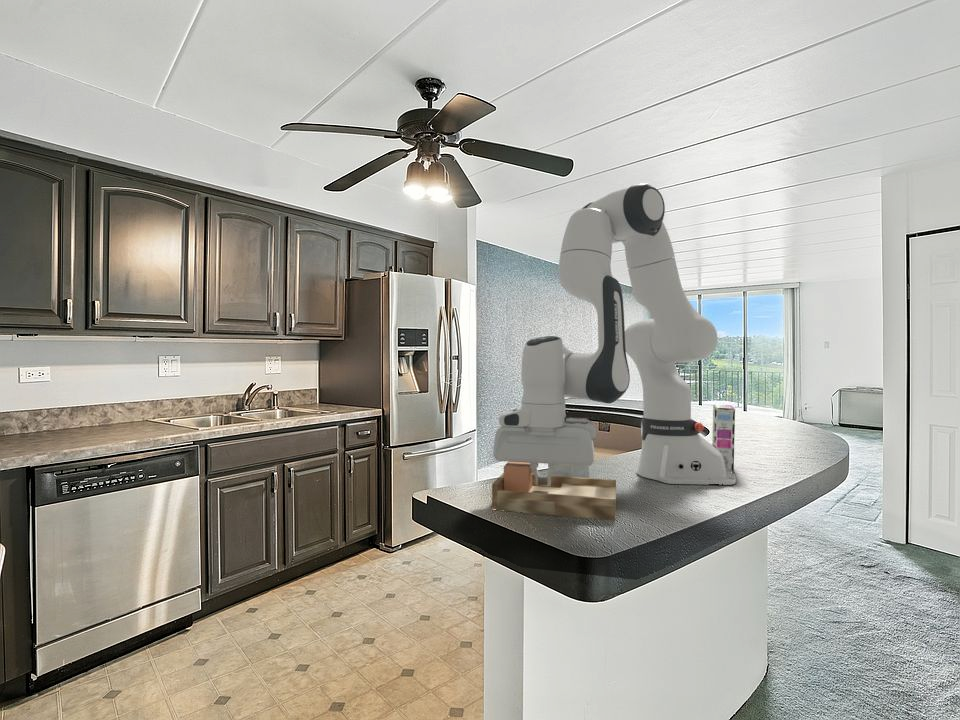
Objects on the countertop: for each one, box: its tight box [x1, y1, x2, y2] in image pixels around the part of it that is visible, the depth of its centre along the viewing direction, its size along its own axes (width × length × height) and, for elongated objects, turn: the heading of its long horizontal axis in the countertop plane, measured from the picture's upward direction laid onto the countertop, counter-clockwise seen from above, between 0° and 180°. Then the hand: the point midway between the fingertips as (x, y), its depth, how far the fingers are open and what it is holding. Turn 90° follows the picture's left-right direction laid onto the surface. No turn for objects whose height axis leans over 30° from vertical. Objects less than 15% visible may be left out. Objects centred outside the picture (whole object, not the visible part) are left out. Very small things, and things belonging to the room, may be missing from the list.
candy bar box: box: [711, 404, 736, 474], centre depth 136 cm, size 11×5×16 cm, turn 158°
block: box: [503, 462, 533, 492], centre depth 106 cm, size 5×5×5 cm
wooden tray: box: [491, 472, 617, 521], centre depth 104 cm, size 23×15×5 cm, turn 75°
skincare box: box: [547, 423, 590, 478], centre depth 121 cm, size 8×6×15 cm
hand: (543, 484), depth 105 cm, fingers closed
